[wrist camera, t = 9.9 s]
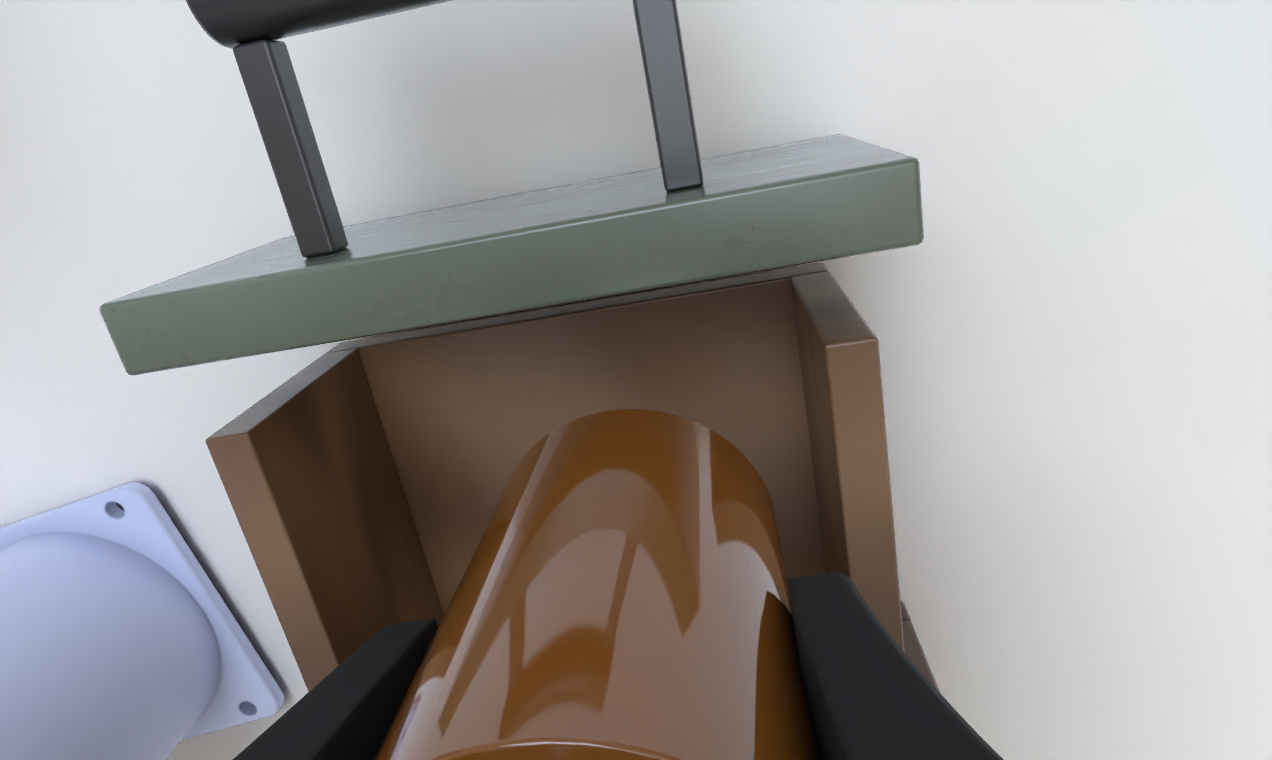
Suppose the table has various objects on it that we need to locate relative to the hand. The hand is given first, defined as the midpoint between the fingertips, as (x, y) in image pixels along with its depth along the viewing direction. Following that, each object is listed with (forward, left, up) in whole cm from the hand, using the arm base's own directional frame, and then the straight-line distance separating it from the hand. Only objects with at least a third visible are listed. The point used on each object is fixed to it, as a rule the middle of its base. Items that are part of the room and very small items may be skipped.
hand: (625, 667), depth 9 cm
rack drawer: (-1, +1, -9) cm, 10 cm away
